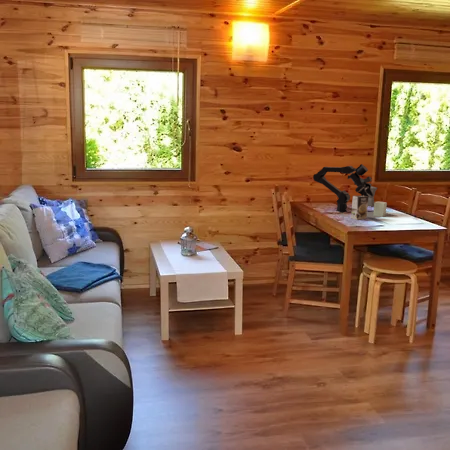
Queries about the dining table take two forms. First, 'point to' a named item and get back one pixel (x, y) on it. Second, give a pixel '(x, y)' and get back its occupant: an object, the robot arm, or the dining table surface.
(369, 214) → the mat
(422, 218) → the dining table surface
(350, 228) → the dining table surface
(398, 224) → the dining table surface
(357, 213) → the coffee box
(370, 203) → the coffeepot
